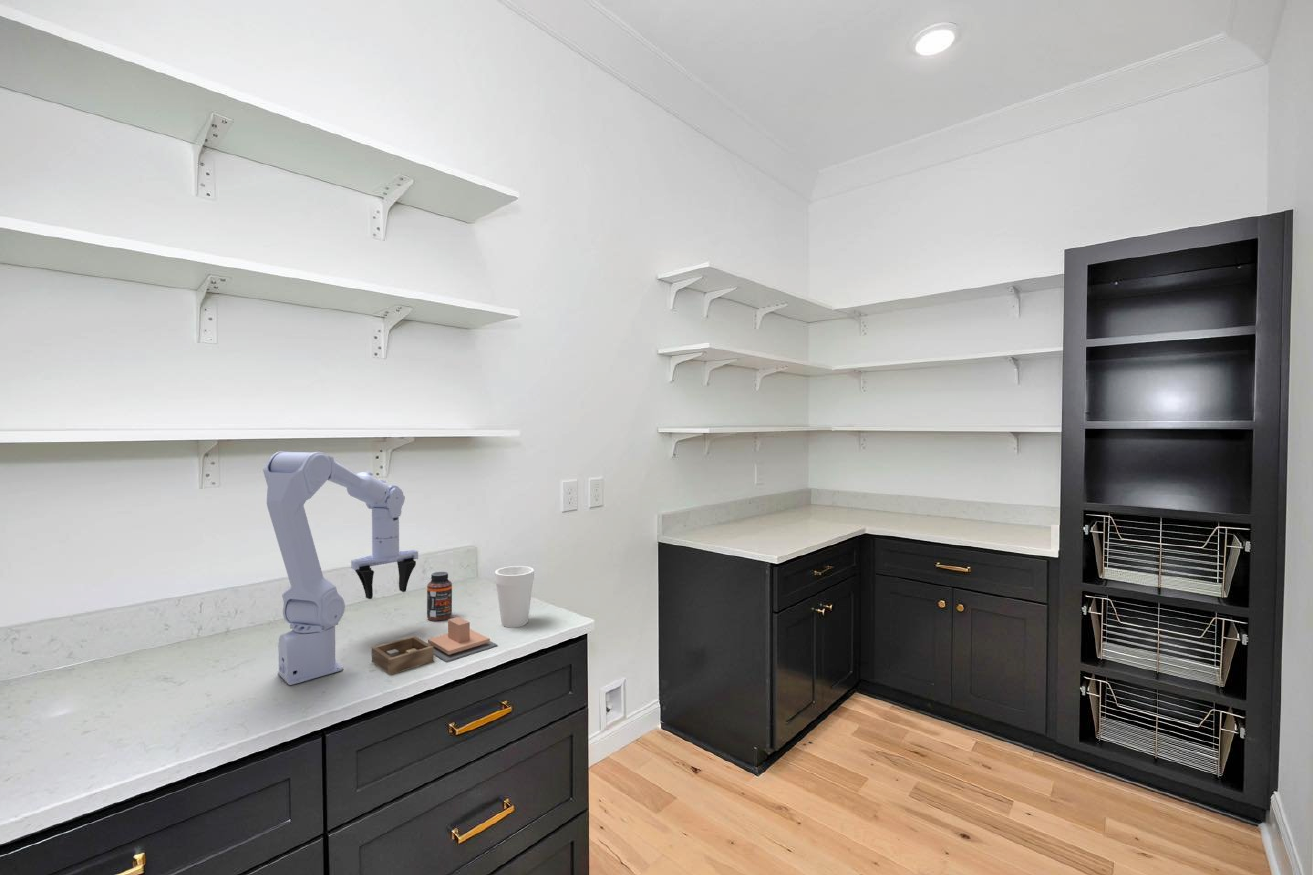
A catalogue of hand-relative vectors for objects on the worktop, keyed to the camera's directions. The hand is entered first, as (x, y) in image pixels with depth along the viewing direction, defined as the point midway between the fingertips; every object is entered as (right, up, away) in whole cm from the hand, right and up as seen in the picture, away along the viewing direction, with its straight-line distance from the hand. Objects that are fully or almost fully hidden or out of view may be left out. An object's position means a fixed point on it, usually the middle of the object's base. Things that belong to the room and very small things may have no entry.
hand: (386, 594), depth 135 cm
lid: (+19, -9, -7) cm, 22 cm away
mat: (+19, -10, -7) cm, 23 cm away
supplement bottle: (+8, -9, +12) cm, 17 cm away
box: (+10, -10, -15) cm, 21 cm away
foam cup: (+28, -10, +8) cm, 31 cm away
